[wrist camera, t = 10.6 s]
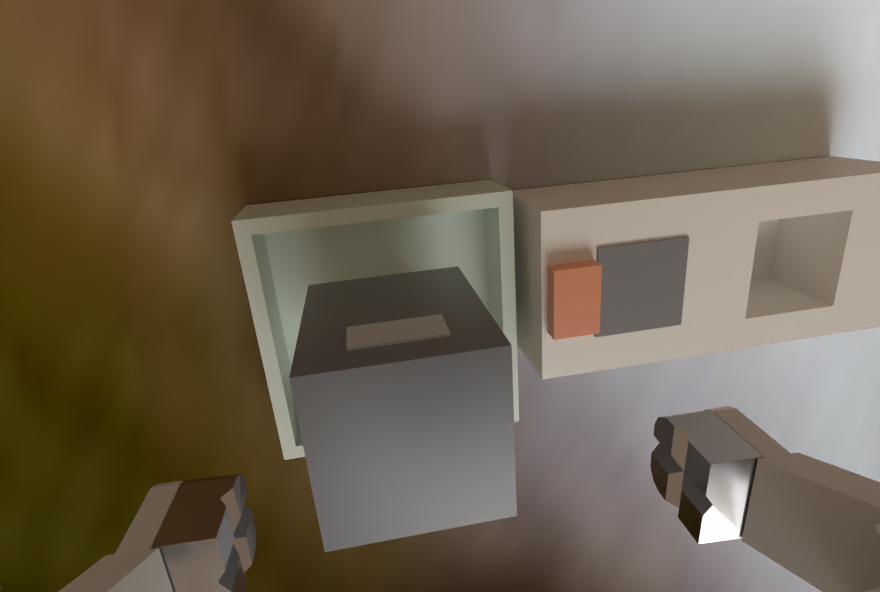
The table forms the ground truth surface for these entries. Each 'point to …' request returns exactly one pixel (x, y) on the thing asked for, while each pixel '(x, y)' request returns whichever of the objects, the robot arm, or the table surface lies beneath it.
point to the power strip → (695, 262)
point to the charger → (404, 407)
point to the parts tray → (369, 262)
